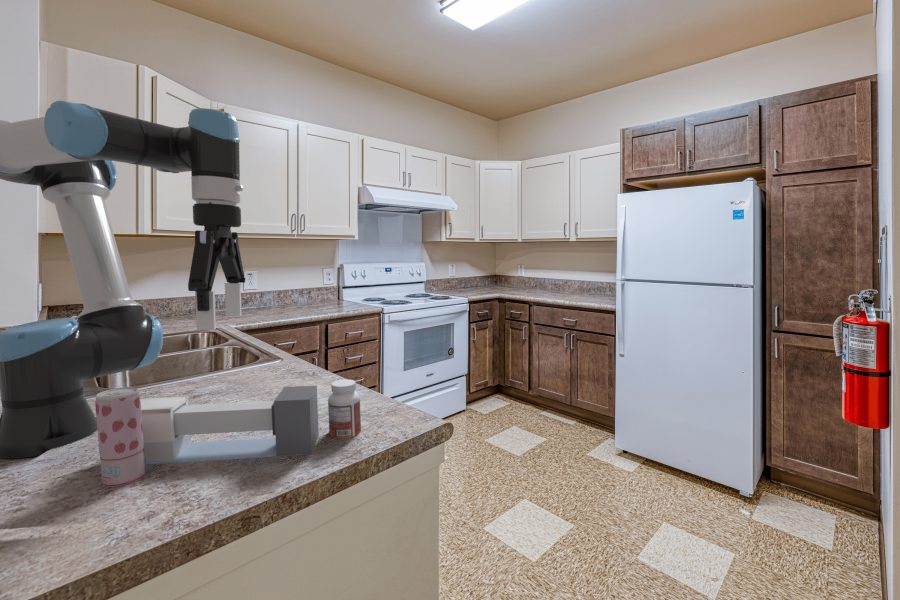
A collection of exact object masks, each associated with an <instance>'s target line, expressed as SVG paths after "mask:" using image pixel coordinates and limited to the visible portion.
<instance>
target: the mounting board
mask: <svg viewBox="0 0 900 600" xmlns="http://www.w3.org/2000/svg"><path fill="white" fill-rule="evenodd" d="M318 437H319V435H318ZM315 447H316V445H315V446H314V448H315ZM304 455H307V454H302V455H301V456H304ZM288 456H291V455H286V456H285V457H288ZM270 457H272V458H274V457H277V456H276V437H266V438H249V439H247V438H245V439H230V440H213V441H212V440H211V441H195V442H193V441H192V442H191V445H190V446H189V447H188V448H187V449H186V450H185V451H184V452H183V453H182V454H181V455H180V456H179V457H178V458H177V459H176V460H174V461H163V462H147V463H146V466H147V465H149V466H150V465H161V464H163V465H164V464H176V463H177V464H179V463H180V464H181V463H194V462H207V461H208V462H209V461H210V462H211V461H223V460H224V461H225V460H227V461H228V460H242V459H256V458H257V459H259V458H270Z"/></svg>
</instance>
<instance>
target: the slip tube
mask: <svg viewBox="0 0 900 600" xmlns="http://www.w3.org/2000/svg"><path fill="white" fill-rule="evenodd" d="M173 420H174V433H175V435H190V436H191V435H209V434H224V433H225V434H226V433H227V434H229V433H241V432H242V433H245V432H261V431H263V432H264V431H272V436H275V415H274V400H269V401H267V400H265V401H248V402H247V401H246V402H224V403H222V402H221V403H206V404H205V403H204V404H188V405H181V406H179V407H178V408H177V409H175V410H174V411H173Z"/></svg>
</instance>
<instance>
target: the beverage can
mask: <svg viewBox="0 0 900 600" xmlns="http://www.w3.org/2000/svg"><path fill="white" fill-rule="evenodd" d="M140 398H141V395H140V393H139V389H138V388H137V387H135V386H134V387H131V386H125V387H124V386H123V387H115V388H110V389H108V390H103V391H101V392H99V393H97V394H96V396H95V402H94V406H95V417H96V419H97V430H96V431H97V441H98V451H99V460H100V461H99V462H100V463H99V464H100V472H101V473H100V474H101V482H102V483H101V484H102V485H103V486H104V487H108V488H115V487H122V486H126V485H129V484H132V483H135V482H138V481H139V480H141V479H143V478H144V477H145V476H146V475H147V465H146V459H145V448H144V436H143V425H142V413H141V402H140Z"/></svg>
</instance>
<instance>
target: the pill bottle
mask: <svg viewBox="0 0 900 600" xmlns="http://www.w3.org/2000/svg"><path fill="white" fill-rule="evenodd" d="M356 383H357V382H356V380H354V379H339V380H335V381H333V382H331V387H330V388H331V392H332V393H331V394H330V395H329V396H328V397H327V403H328V404H327V405H328V408H327V409H328V428H329V430H328V431H329V432H328V434H329V436H330V437H331V438H336V439H350V438H353V437H356V436H358V435H359V434H360V433H361V432H362V423H361V422H362V421H361V419H362V418H361V417H362V416H361V397H360V394H359V393H358V392H357V391H356V388H357V384H356Z"/></svg>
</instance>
